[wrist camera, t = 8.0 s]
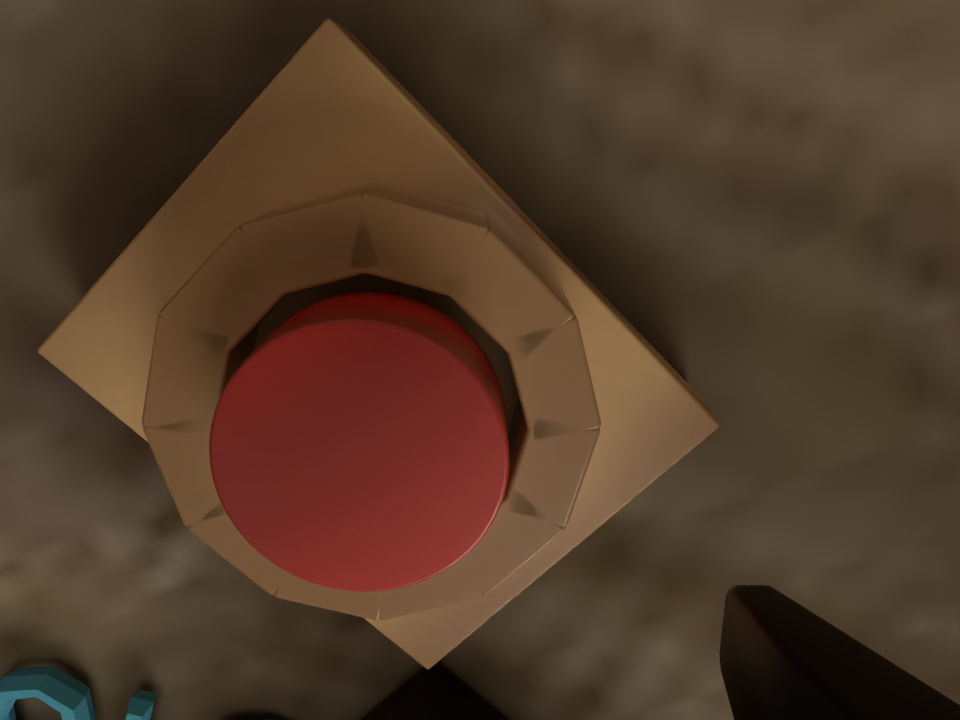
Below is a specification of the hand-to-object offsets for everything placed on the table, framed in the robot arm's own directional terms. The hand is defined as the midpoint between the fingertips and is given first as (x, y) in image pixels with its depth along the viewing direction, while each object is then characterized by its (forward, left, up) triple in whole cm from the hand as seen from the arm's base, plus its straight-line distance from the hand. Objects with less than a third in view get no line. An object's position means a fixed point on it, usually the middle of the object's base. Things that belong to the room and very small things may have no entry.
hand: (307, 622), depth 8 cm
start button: (0, 0, -5) cm, 5 cm away
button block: (0, 0, -9) cm, 9 cm away
